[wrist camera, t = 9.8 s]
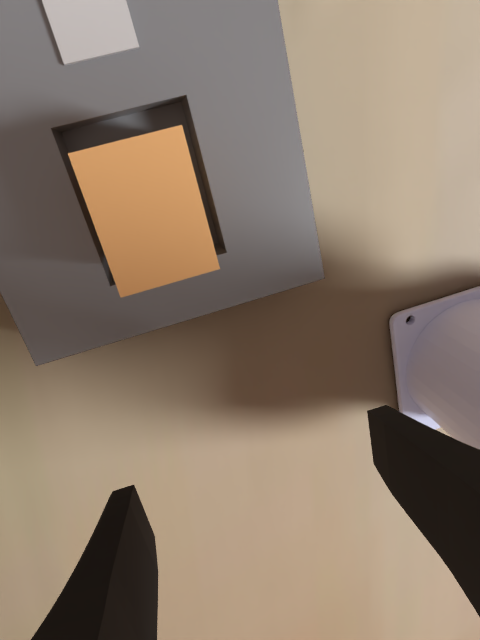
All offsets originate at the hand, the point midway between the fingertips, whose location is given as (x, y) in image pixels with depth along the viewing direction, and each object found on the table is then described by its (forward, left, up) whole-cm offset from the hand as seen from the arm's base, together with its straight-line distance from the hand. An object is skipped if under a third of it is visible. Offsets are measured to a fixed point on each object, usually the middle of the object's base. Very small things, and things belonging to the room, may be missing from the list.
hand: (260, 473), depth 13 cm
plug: (+1, -8, -8) cm, 11 cm away
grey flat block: (+1, -10, -9) cm, 14 cm away
